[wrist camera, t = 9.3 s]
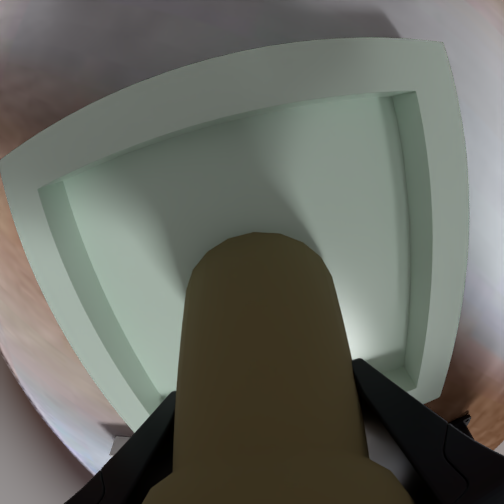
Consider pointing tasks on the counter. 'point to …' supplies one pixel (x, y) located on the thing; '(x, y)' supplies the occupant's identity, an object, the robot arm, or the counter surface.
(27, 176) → the tray
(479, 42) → the counter surface
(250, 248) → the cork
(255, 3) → the counter surface
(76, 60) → the counter surface
